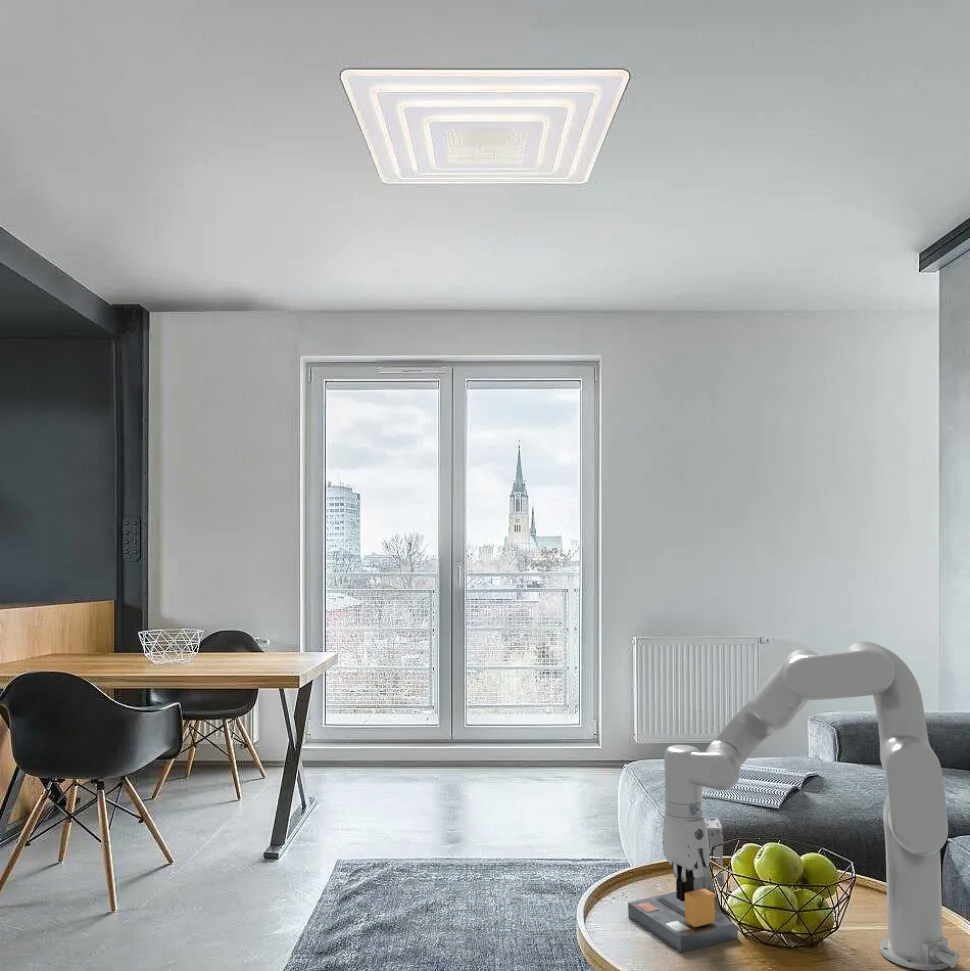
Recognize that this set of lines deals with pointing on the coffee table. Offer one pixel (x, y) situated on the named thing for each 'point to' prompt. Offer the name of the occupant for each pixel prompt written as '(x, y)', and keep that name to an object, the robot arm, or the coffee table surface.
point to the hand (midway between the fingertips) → (685, 898)
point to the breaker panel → (679, 923)
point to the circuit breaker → (713, 839)
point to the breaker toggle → (699, 907)
